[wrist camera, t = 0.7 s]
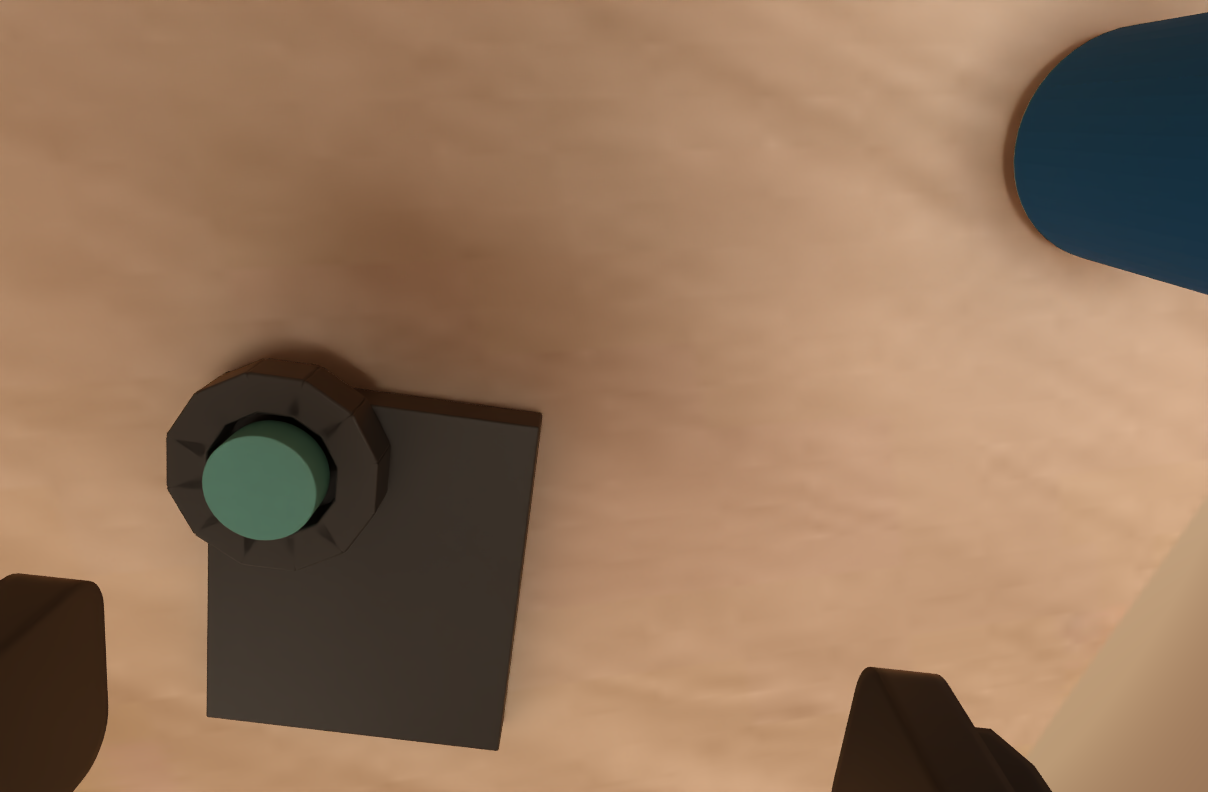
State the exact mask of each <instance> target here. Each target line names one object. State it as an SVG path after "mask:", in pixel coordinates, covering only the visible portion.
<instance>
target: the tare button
mask: <svg viewBox="0 0 1208 792" xmlns="http://www.w3.org/2000/svg"><path fill="white" fill-rule="evenodd" d="M329 483H330V470H329V464H328V461H327V458H326V456H325V454H324V452H323V450H322V448H321V447H320V445H319V444H318V443H317V442H316V441H315V440H314V439H313V438H312V437H311V436H310V435H309V434H308V433H306V432H305V431H304V430H302V429H300V428H299V427H296V426H294V425H292V424H289V423H286V422H281V421H274V420H264V421H257V422H254V423H250V424H248V425H246V426H244V427H242V428H241V429H239V430H238V431H236V432H235V433H234V434H233V435H232V436H230V437H229V438H228V439H227V440H226V441H225V442H223V443H222V444H221V445H220V446H219V447H218V448H217V449H216V450H214V452H213V453H212V454H211V455H210V457H209V458H208V460H207V462H206V465H205V467H204V471H203V476H202V488H203V493H204V497H205V500H206V503H207V505H208V507H209V508H210V510H211V511H212V513H213V514H214V516H215V517H216V518H217V519H218V520H219V521H220V522H221V523H222V524H223V525H224V526H226V527H227V528H228V529H230V530H231V531H233V532H235V533H237V534H239V535H241V536H244V537H247V538H250V539H256V540H275V539H281V538H284V537H287V536H289V535H291V534H293V533H295V532H296V531H298V530H299V529H301V528H302V527H303V526H304V525H305V524H306V523H307V521H308V520H309V519H310V517H311V516H312V515H313V513H314V512H315V511H316V509H317V508H318V507H319V505H320V504H321V502H322V501H323V499H324V498H325V496H326V494H327V491H328V488H329Z"/></svg>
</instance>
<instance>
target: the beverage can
mask: <svg viewBox="0 0 1208 792" xmlns="http://www.w3.org/2000/svg"><path fill="white" fill-rule="evenodd" d="M1014 178H1015V183H1016V189H1017V193H1018V196H1019V199H1020V202H1021V204H1022V206H1023V208H1024V210H1025V212H1026V214H1027V216H1028V218H1029V219H1030V221H1031V222H1032V223H1033V225H1034V226H1035V228H1036V229H1037V230H1038V231H1039V232H1040V233H1041V234H1042V235H1043V236H1044V237H1045V238H1046V239H1047V240H1049V241H1050V242H1051V243H1053V244H1054V245H1055V246H1057V247H1058V248H1060V249H1062V250H1064V251H1066V252H1068V253H1070V254H1073V255H1076V256H1078V257H1081V258H1084V259H1088V260H1091V261H1095V262H1098V263H1101V264H1105V265H1108V266H1112V267H1115V268H1118V269H1122V270H1125V271H1129V272H1132V273H1136V274H1139V275H1142V276H1146V277H1149V278H1153V279H1156V280H1159V281H1163V282H1166V283H1170V284H1173V285H1176V286H1180V287H1183V288H1187V289H1190V290H1194V291H1197V292H1200V293H1204V294H1207V295H1208V13H1202V14H1196V15H1190V16H1184V17H1179V18H1173V19H1167V20H1161V21H1155V22H1150V23H1144V24H1138V25H1133V26H1128V27H1123V28H1119V29H1116V30H1113V31H1110V32H1107V33H1104V34H1102V35H1100V36H1098V37H1096V38H1094V39H1091V40H1089V41H1088V42H1086V43H1085V44H1083V45H1081V46H1080V47H1078V48H1077V49H1075V50H1074V51H1073V52H1071V53H1070V54H1069V55H1068V56H1066V57H1065V58H1064V59H1063V60H1062V61H1060V62H1059V63H1058V64H1057V66H1056V67H1055V68H1054V69H1053V70H1052V71H1051V72H1050V73H1049V74H1048V75H1047V76H1046V78H1045V79H1044V80H1043V82H1042V83H1041V84H1040V85H1039V87H1038V88H1037V90H1036V92H1035V93H1034V95H1033V97H1032V98H1031V100H1030V102H1029V104H1028V106H1027V108H1026V110H1025V112H1024V114H1023V117H1022V120H1021V123H1020V126H1019V129H1018V133H1017V138H1016V143H1015V149H1014Z"/></svg>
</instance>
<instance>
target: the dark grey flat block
mask: <svg viewBox="0 0 1208 792" xmlns="http://www.w3.org/2000/svg"><path fill="white" fill-rule="evenodd" d="M264 420H274V421H281V422H286V423H289V424H292V425H294V426H296V427H299V428H300V429H302V430H304V431H305V432H306V433H308V434H309V435H310V436H311V437H312V438H313V439H314V440H315V441H316V442H317V443H318V444H319V445H320V447H321V448H322V450H323V452H324V454H325V456H326V458H327V461H328V464H329V470H330V483H329V488H328V491H327V494H326V496H325V498H324V499H323V501H322V502H321V504H320V505H319V507H318V508H317V509H316V511H315V512H314V513H313V515H312V516H311V517H310V519H309V520H308V521H307V523H306V524H305V525H304V526H303V527H302V528H301V529H299V530H298V531H296V532H295V533H293V534H291V535H289V536H287V537H284V538H281V539H275V540H256V539H250V538H247V537H244V536H241V535H239V534H237V533H235V532H233V531H231V530H230V529H228V528H227V527H226V526H224V525H223V524H222V523H221V522H220V521H219V520H218V519H217V518H216V517H215V516H214V514H213V513H212V511H211V510H210V508H209V507H208V505H207V503H206V500H205V497H204V493H203V488H202V476H203V471H204V467H205V465H206V462H207V460H208V458H209V457H210V455H211V454H212V453H213V452H214V450H216V449H217V448H218V447H219V446H220V445H221V444H222V443H223V442H225V441H226V440H227V439H228V438H229V437H230V436H232V435H233V434H234V433H235V432H236V431H238V430H239V429H241V428H242V427H244V426H246V425H248V424H250V423H254V422H257V421H264ZM541 423H542V414H541V413H535V412H528V411H520V410H513V409H505V408H498V407H491V406H483V405H476V404H468V403H461V402H453V401H446V400H439V399H431V398H424V397H416V396H409V395H401V394H394V393H387V392H379V391H372V390H364V389H357V388H352V387H350V386H349V385H347V384H346V383H345V382H343V381H342V380H340V379H339V378H337V377H336V376H335V375H333V374H332V373H330V372H329V371H328V370H326V369H325V368H323V367H320V366H318V365H313V364H305V363H298V362H291V361H283V360H276V359H261V360H259V361H256V362H254V363H251V364H249V365H247V366H244V367H242V368H239V369H237V370H234V371H232V372H230V371H228V372H226V373H225V374H223V375H222V376H219V377H218V378H216V379H215V380H213V381H212V382H210V383H209V384H207V385H206V386H205V387H203V388H202V389H200V390H199V391H197V392H196V393H194V395H193V396H192V397H191V399H190V400H189V402H188V403H187V405H186V406H185V408H184V409H183V411H182V412H181V414H180V415H179V417H178V418H177V420H176V421H175V423H174V424H173V426H172V427H171V429H170V430H169V431H168V433H167V438H166V443H167V489H168V491H169V493H170V494H171V496H172V498H173V499H174V501H175V503H176V504H177V506H178V508H179V509H180V511H181V513H182V514H183V516H184V518H185V519H186V521H187V523H188V524H189V526H190V528H191V529H192V531H193V533H196V536H198V537H200V538H201V539H203V540H204V541H206V542H207V543H208V629H207V717H213V718H221V719H230V720H239V721H247V722H256V723H264V724H273V725H281V726H290V727H298V728H307V729H315V730H324V731H332V732H341V733H349V734H358V735H366V736H375V737H383V738H392V739H400V740H409V741H417V742H426V743H434V744H443V745H451V746H460V747H468V748H477V749H486V750H494V751H497V750H498V749H499V744H500V738H501V732H502V726H503V718H504V711H505V703H506V695H507V687H508V679H509V672H510V664H511V656H512V648H513V641H514V633H515V625H516V617H517V610H518V602H519V594H520V586H521V578H522V571H523V563H524V555H525V547H526V540H527V532H528V524H529V516H530V509H531V501H532V493H533V485H534V477H535V470H536V462H537V454H538V446H539V439H540V431H541Z"/></svg>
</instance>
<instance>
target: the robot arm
mask: <svg viewBox="0 0 1208 792" xmlns="http://www.w3.org/2000/svg"><path fill="white" fill-rule="evenodd" d="M107 719H108V691H107V668H106V644H105V621H104V603H103V597H102V593H101V591H100V589H99V587H98V586H97V585H96V584H95V583H94V582H91V581H85V580H75V579H66V578H57V577H47V576H38V575H29V574H20V573H17V574H11V575H9V576H6V577H5V578H3V579H2V580H0V792H73V791H74V790H75V788H76V787H77V786H78V785H79V783H80V782H81V781H82V780H83V778H84V777H85V776H86V774H87V773H88V772H89V770H90V768H91V767H92V765H93V763H94V761H95V759H96V757H97V755H98V752H99V750H100V747H101V744H102V741H103V738H104V735H105V731H106V726H107ZM832 792H1052V791H1051V790H1050V788H1049V787H1048V785H1047V784H1046V782H1045V781H1044V779H1043V778H1042V776H1041V775H1040V773H1039V772H1038V771H1037V769H1036V768H1035V766H1034V765H1033V764H1032V763H1030V762H1029V761H1028V760H1027V759H1026V758H1025V757H1023V756H1022V755H1021V754H1020V753H1019V752H1017V751H1016V750H1015V749H1014V748H1013V747H1012V746H1010V745H1009V744H1008V743H1007V742H1006V741H1004V740H1003V739H1002V738H1001V737H1000V736H999V735H997V734H996V733H995V732H994V731H993V730H992V729H986V728H977V727H974V725H973V723H972V722H971V720H970V719H969V717H968V715H967V714H966V712H965V711H964V709H963V707H962V706H961V704H960V703H959V701H958V699H957V698H956V696H955V695H954V693H953V692H952V690H951V688H950V687H949V685H948V684H947V682H946V681H945V679H944V678H943V677H941V676H940V675H938V674H931V673H922V672H913V671H903V670H894V669H885V668H876V667H867V668H866V669H864V670H863V672H862V673H861V675H860V677H859V679H858V682H857V685H856V689H855V693H854V697H853V701H852V706H851V710H850V714H849V718H848V722H847V727H846V731H845V735H844V739H843V744H842V748H841V752H840V756H839V760H838V765H837V769H836V773H835V777H834V782H833V786H832Z"/></svg>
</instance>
